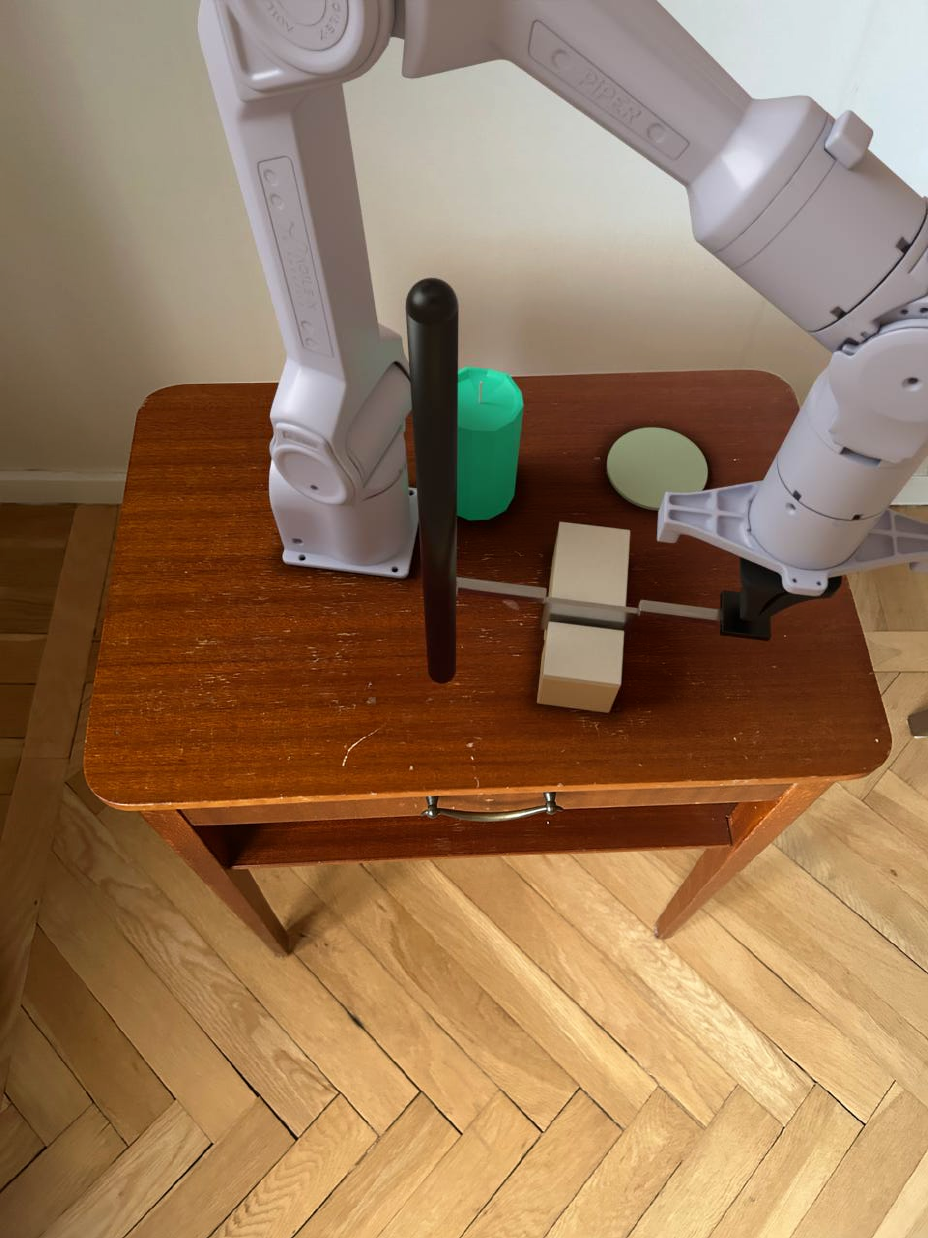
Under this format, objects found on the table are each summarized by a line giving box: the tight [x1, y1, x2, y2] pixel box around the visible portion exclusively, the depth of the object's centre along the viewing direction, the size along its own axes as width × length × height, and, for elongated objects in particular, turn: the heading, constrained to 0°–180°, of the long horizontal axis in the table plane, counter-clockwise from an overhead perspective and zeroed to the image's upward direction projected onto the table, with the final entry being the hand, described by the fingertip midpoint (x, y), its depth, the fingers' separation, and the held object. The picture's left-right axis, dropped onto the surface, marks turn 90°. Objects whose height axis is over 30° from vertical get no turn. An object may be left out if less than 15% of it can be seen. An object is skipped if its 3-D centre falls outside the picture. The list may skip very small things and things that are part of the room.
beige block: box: [536, 622, 625, 714], centre depth 59 cm, size 5×4×5 cm
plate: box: [606, 426, 709, 512], centre depth 70 cm, size 8×8×1 cm
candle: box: [457, 366, 525, 521], centre depth 64 cm, size 6×6×12 cm
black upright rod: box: [405, 277, 772, 685], centre depth 44 cm, size 21×7×33 cm, turn 82°
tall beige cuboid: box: [543, 521, 631, 641], centre depth 62 cm, size 5×7×5 cm
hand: (751, 606), depth 54 cm, fingers closed
